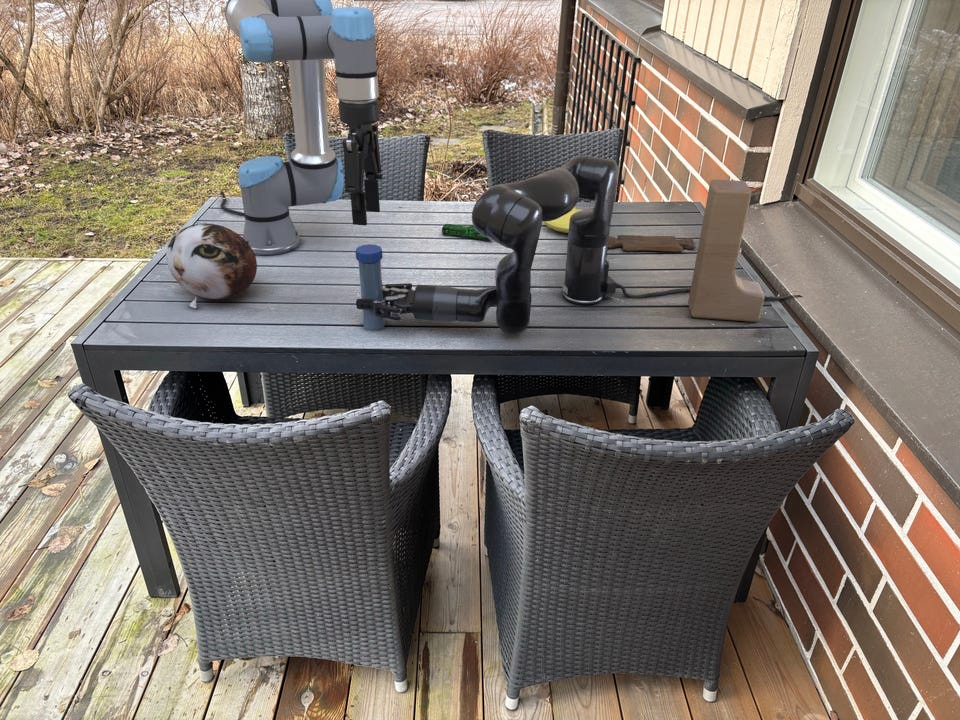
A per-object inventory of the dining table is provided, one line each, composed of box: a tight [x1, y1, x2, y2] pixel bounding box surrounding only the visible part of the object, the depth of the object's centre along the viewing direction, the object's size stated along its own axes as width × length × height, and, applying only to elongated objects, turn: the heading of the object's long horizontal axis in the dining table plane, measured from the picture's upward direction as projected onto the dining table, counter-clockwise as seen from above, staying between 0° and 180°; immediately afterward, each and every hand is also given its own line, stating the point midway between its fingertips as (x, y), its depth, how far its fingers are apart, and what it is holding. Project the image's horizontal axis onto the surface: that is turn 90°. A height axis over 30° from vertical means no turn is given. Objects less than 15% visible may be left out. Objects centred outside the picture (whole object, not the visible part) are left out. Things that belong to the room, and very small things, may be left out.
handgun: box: [441, 223, 492, 242], centre depth 207 cm, size 16×3×15 cm
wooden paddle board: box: [608, 234, 695, 253], centre depth 200 cm, size 26×2×10 cm
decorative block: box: [687, 178, 765, 323], centre depth 157 cm, size 8×15×30 cm, turn 82°
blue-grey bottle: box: [357, 259, 386, 331], centre depth 153 cm, size 5×5×18 cm
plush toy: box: [165, 222, 258, 309], centre depth 165 cm, size 22×18×20 cm
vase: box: [543, 206, 583, 234], centre depth 209 cm, size 16×16×7 cm
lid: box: [355, 243, 384, 263], centre depth 149 cm, size 6×6×2 cm
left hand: (366, 217), depth 145 cm, fingers open, 7 cm apart
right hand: (360, 298), depth 155 cm, fingers closed on blue-grey bottle, 4 cm apart
